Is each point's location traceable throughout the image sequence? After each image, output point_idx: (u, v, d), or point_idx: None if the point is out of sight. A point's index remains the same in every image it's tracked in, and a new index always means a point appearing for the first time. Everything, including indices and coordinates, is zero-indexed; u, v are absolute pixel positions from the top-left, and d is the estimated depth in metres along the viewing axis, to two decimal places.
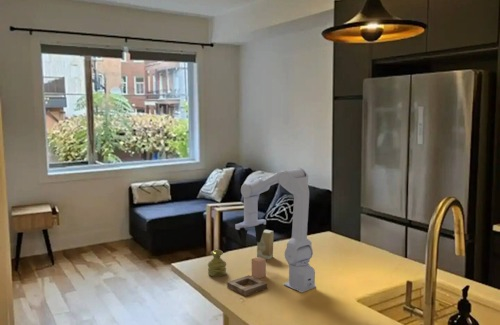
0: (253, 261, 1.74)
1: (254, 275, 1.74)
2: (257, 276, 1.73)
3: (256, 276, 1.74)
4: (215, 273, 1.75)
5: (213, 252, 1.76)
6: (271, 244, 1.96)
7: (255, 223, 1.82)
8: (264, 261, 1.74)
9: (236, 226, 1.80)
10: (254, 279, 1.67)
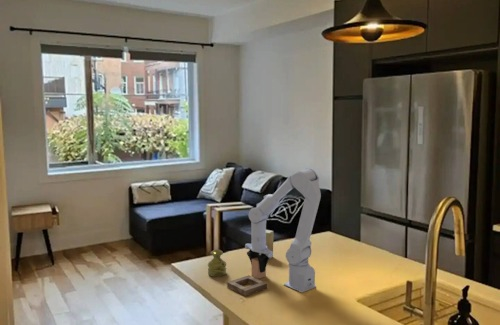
0: (253, 261, 1.74)
1: (254, 275, 1.74)
2: (257, 276, 1.73)
3: (256, 276, 1.74)
4: (215, 273, 1.75)
5: (213, 252, 1.76)
6: (271, 244, 1.96)
7: (253, 249, 1.72)
8: None
9: None
10: (254, 279, 1.67)
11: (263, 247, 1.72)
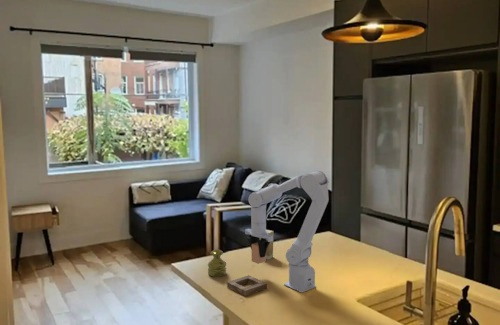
0: (253, 246, 1.74)
1: (254, 260, 1.74)
2: (257, 261, 1.72)
3: (256, 261, 1.73)
4: (215, 273, 1.75)
5: (213, 252, 1.76)
6: (271, 244, 1.96)
7: (253, 234, 1.72)
8: None
9: None
10: (254, 279, 1.67)
11: (263, 232, 1.71)
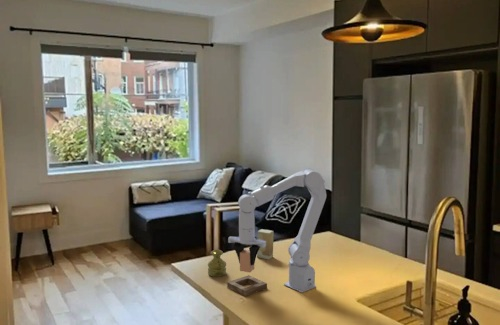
0: (242, 254, 1.61)
1: (244, 269, 1.62)
2: (248, 270, 1.61)
3: (247, 270, 1.61)
4: (215, 273, 1.75)
5: (213, 252, 1.76)
6: (271, 244, 1.96)
7: (244, 241, 1.59)
8: None
9: None
10: (254, 279, 1.67)
11: (253, 238, 1.61)
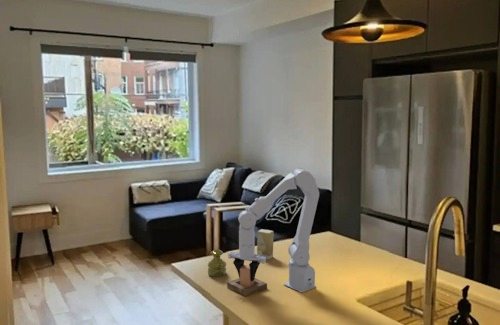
0: (242, 270, 1.62)
1: (244, 285, 1.62)
2: (248, 285, 1.62)
3: (247, 286, 1.62)
4: (215, 273, 1.75)
5: (213, 252, 1.76)
6: (271, 244, 1.96)
7: (244, 257, 1.60)
8: None
9: None
10: (254, 279, 1.67)
11: (253, 254, 1.61)
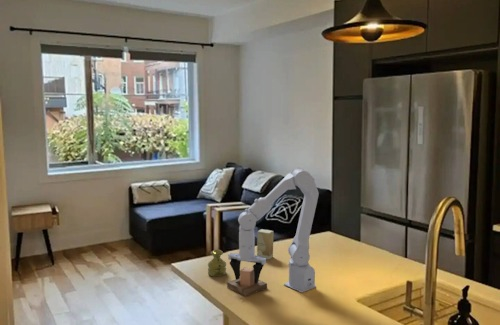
0: (242, 273, 1.62)
1: None
2: None
3: None
4: (215, 273, 1.75)
5: (213, 252, 1.76)
6: (271, 244, 1.96)
7: (244, 259, 1.60)
8: (253, 271, 1.64)
9: None
10: None
11: (253, 255, 1.61)
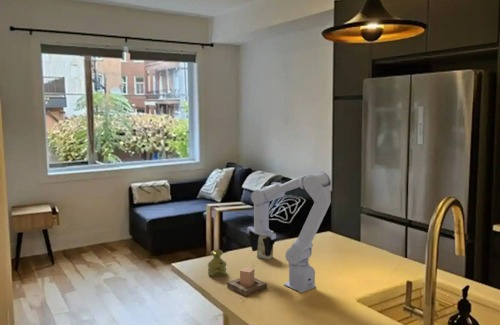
0: (242, 273, 1.62)
1: None
2: None
3: None
4: (215, 273, 1.75)
5: (213, 252, 1.76)
6: None
7: (256, 231, 1.71)
8: (253, 271, 1.64)
9: None
10: (254, 279, 1.67)
11: (266, 229, 1.71)
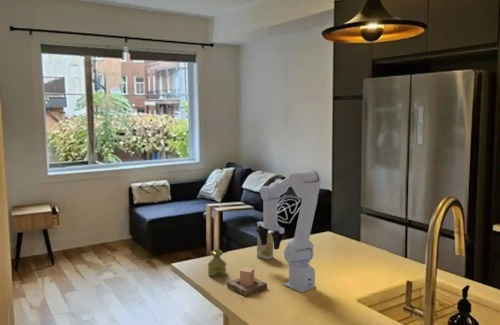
0: (242, 273, 1.62)
1: None
2: None
3: None
4: (215, 273, 1.75)
5: (213, 252, 1.76)
6: (271, 244, 1.96)
7: (265, 226, 1.79)
8: (253, 271, 1.64)
9: None
10: (254, 279, 1.67)
11: (275, 224, 1.79)
